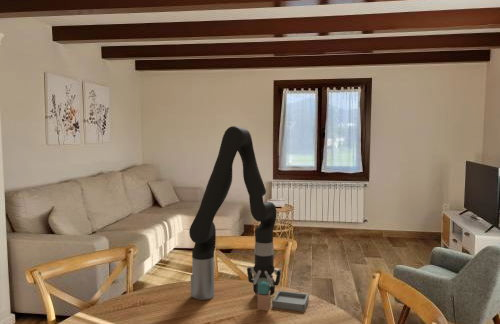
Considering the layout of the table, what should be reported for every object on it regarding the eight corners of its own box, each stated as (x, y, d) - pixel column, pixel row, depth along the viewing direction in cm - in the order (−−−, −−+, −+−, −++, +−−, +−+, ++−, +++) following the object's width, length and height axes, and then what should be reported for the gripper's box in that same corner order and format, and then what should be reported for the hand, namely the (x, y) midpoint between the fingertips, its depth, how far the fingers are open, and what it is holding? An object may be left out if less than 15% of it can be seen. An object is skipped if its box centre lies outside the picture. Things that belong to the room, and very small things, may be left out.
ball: (256, 295, 160) (256, 283, 159) (259, 291, 164) (259, 279, 164) (268, 297, 158) (268, 284, 158) (271, 292, 163) (271, 280, 162)
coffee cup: (270, 300, 169) (270, 272, 168) (250, 298, 171) (250, 270, 170) (273, 292, 178) (273, 265, 177) (254, 290, 179) (254, 264, 178)
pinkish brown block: (257, 309, 160) (257, 294, 160) (260, 305, 164) (260, 290, 164) (267, 310, 159) (267, 296, 159) (270, 306, 163) (270, 292, 163)
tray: (272, 307, 162) (272, 300, 162) (278, 296, 173) (278, 290, 172) (304, 311, 158) (304, 304, 158) (308, 300, 169) (308, 294, 169)
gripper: (243, 253, 158) (244, 295, 160) (279, 256, 154) (279, 299, 156) (249, 248, 166) (249, 288, 167) (283, 251, 161) (283, 292, 163)
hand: (264, 293), depth 161 cm, fingers open, 5 cm apart
